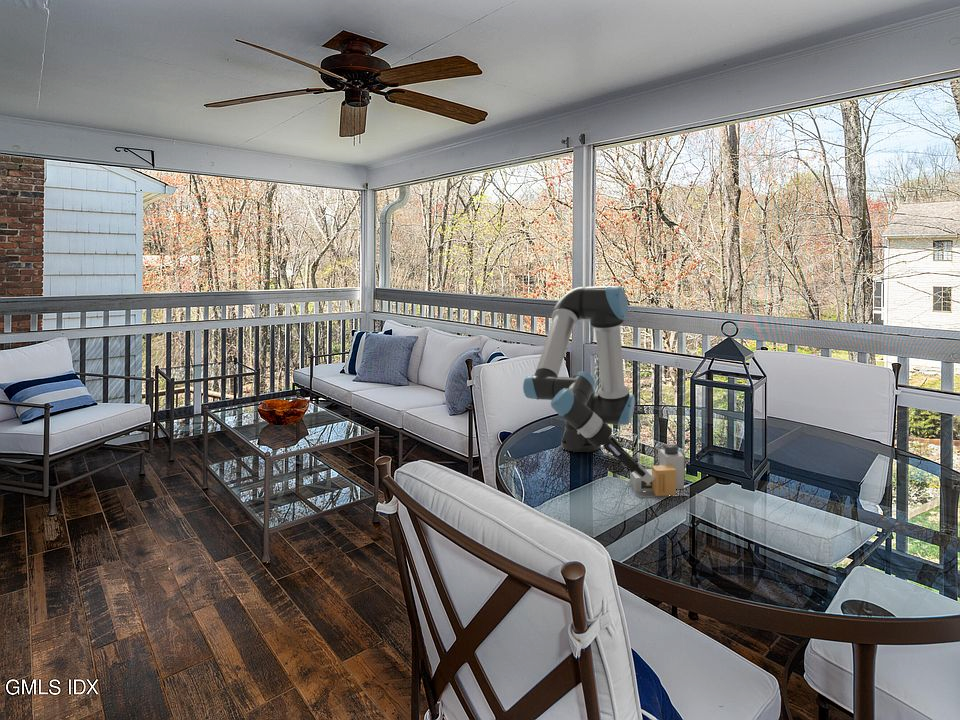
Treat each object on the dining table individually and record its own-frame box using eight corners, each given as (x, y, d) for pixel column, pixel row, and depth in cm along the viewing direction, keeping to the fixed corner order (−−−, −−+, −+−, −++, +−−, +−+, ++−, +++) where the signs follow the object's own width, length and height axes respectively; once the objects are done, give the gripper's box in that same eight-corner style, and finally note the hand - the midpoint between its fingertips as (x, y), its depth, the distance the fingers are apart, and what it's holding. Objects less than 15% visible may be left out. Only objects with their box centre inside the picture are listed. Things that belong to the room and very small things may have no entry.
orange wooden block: (656, 496, 172) (656, 471, 171) (652, 490, 177) (651, 465, 176) (676, 495, 172) (676, 470, 171) (671, 489, 177) (671, 464, 176)
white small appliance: (639, 498, 173) (639, 457, 171) (629, 483, 185) (629, 444, 183) (689, 496, 173) (689, 455, 171) (676, 481, 185) (676, 442, 183)
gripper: (582, 432, 179) (636, 481, 180) (589, 445, 166) (647, 497, 168) (599, 415, 178) (653, 464, 179) (607, 426, 165) (665, 479, 167)
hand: (650, 480), depth 174 cm, fingers closed
